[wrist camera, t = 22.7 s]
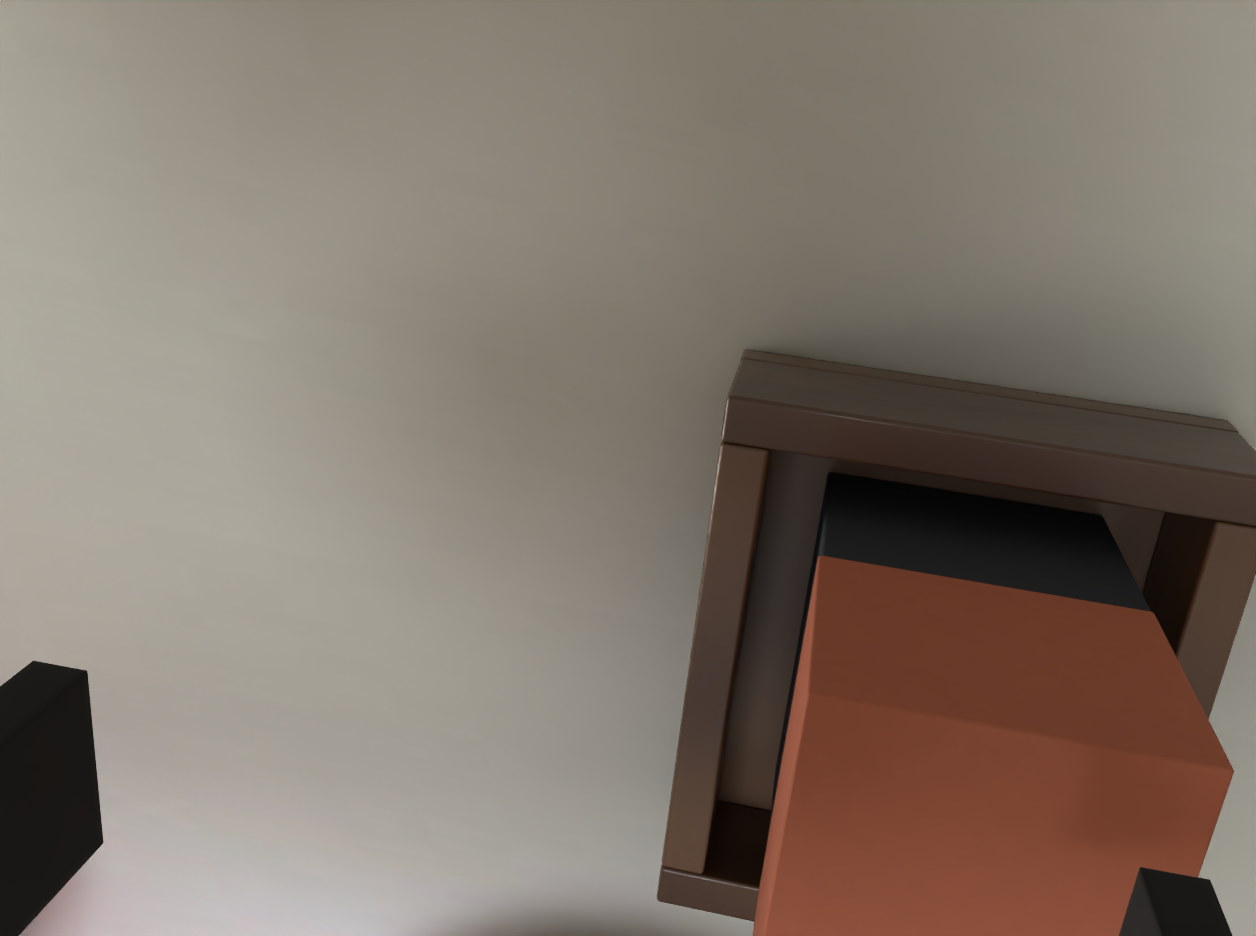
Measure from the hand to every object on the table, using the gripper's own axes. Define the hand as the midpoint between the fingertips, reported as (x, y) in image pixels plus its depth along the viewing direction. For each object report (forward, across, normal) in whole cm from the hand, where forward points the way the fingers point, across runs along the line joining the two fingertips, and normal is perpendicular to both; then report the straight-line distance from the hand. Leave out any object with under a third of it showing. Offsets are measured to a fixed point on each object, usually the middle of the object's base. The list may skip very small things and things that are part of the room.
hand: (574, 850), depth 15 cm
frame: (+14, +6, -4) cm, 16 cm away
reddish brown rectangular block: (+8, +6, -4) cm, 11 cm away
